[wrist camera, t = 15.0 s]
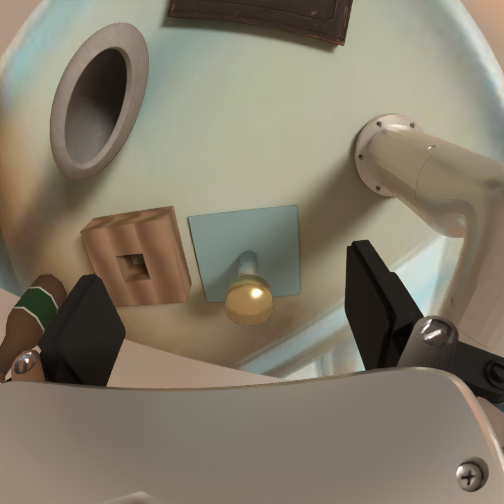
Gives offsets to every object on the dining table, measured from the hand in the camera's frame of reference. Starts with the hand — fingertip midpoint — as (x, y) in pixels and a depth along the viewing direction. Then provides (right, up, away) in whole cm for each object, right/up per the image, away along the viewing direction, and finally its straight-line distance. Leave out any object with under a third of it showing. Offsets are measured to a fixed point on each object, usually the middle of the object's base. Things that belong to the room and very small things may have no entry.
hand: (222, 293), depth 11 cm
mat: (0, +1, +38) cm, 38 cm away
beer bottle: (-39, -6, +41) cm, 57 cm away
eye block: (-17, +2, +37) cm, 41 cm away
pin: (+1, 0, +37) cm, 37 cm away
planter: (-15, +23, +25) cm, 37 cm away
